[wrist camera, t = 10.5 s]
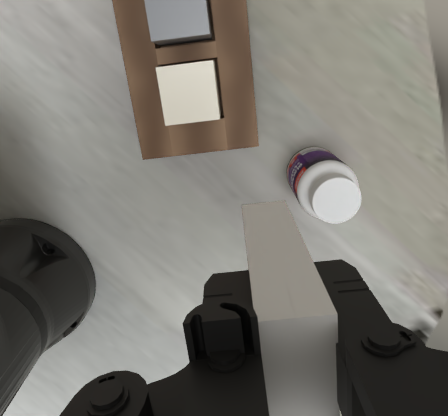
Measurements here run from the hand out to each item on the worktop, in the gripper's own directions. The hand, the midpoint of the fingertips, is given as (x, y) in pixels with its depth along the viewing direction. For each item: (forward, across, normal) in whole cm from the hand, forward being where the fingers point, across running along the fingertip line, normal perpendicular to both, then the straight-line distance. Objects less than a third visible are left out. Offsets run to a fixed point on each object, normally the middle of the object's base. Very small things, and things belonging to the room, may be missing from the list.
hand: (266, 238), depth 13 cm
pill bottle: (+27, +7, -5) cm, 28 cm away
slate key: (+25, -4, +11) cm, 27 cm away
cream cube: (+25, -4, +4) cm, 25 cm away
